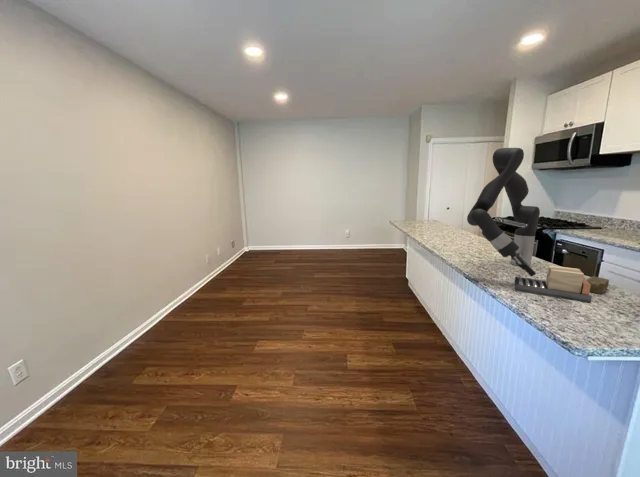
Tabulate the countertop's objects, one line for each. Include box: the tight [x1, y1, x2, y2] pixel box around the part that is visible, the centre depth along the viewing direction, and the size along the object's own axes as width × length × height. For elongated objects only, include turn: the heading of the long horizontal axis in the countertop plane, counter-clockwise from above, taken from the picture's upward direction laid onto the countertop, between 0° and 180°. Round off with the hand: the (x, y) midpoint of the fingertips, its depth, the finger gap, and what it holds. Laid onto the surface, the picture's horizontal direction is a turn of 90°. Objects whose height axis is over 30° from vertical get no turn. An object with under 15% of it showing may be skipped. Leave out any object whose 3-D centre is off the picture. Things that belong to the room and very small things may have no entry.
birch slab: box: [545, 265, 585, 293], centre depth 115 cm, size 8×10×8 cm
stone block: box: [586, 275, 610, 295], centre depth 119 cm, size 6×12×5 cm, turn 125°
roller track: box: [514, 276, 593, 304], centre depth 118 cm, size 12×24×7 cm, turn 57°
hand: (533, 274), depth 120 cm, fingers closed
